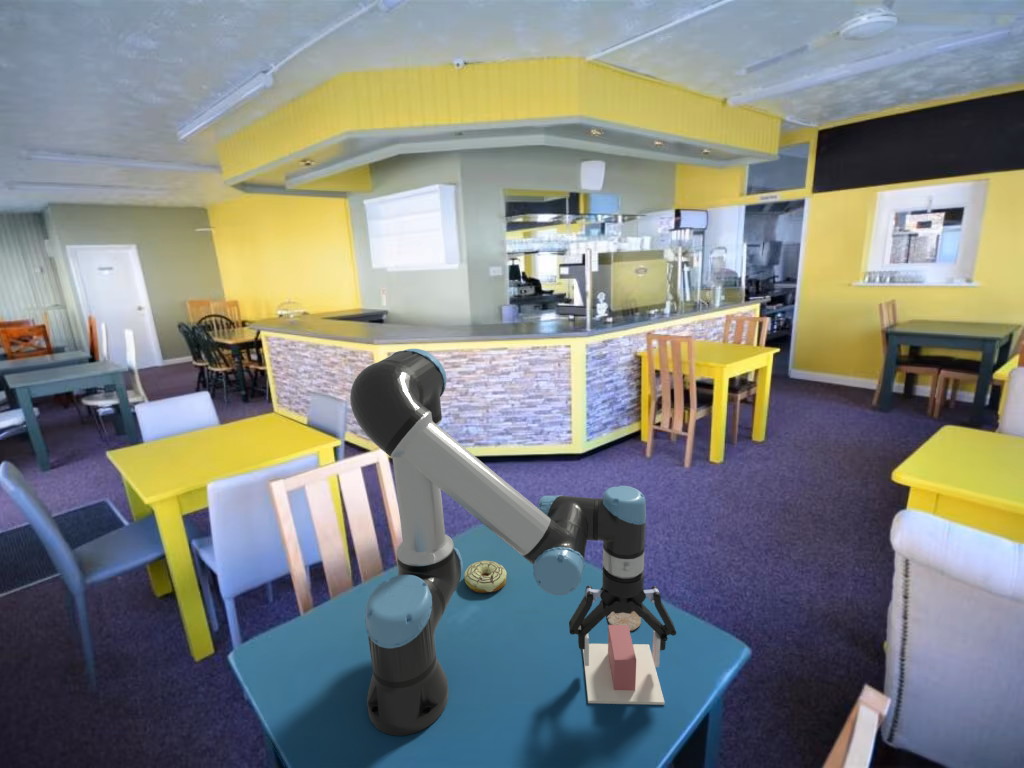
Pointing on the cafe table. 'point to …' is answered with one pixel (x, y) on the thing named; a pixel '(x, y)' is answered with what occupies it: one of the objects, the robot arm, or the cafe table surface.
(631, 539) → the robot arm
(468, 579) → the decorated donut
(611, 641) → the card deck box
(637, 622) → the flatbread
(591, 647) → the serving mat
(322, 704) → the cafe table surface
